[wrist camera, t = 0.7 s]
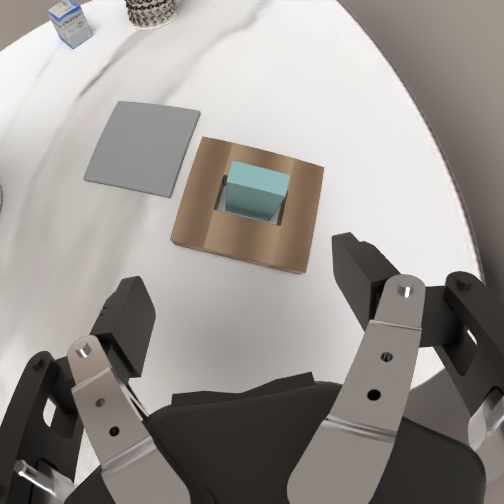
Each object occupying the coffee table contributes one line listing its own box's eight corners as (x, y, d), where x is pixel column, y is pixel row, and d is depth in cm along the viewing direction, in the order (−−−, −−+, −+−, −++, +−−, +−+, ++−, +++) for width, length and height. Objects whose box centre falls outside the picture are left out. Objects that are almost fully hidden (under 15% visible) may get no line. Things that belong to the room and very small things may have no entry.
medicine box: (60, 39, 34) (46, 11, 25) (78, 26, 34) (66, -3, 26) (73, 50, 33) (57, 19, 25) (93, 36, 34) (80, 4, 26)
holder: (174, 244, 31) (170, 239, 28) (203, 148, 33) (202, 136, 30) (298, 274, 32) (305, 272, 29) (316, 177, 34) (324, 167, 31)
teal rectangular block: (225, 210, 32) (226, 181, 23) (229, 194, 32) (232, 160, 24) (268, 221, 32) (285, 196, 24) (272, 205, 33) (289, 175, 24)
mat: (84, 180, 31) (83, 178, 30) (119, 103, 33) (118, 100, 32) (170, 198, 32) (169, 196, 31) (200, 113, 33) (200, 111, 33)
